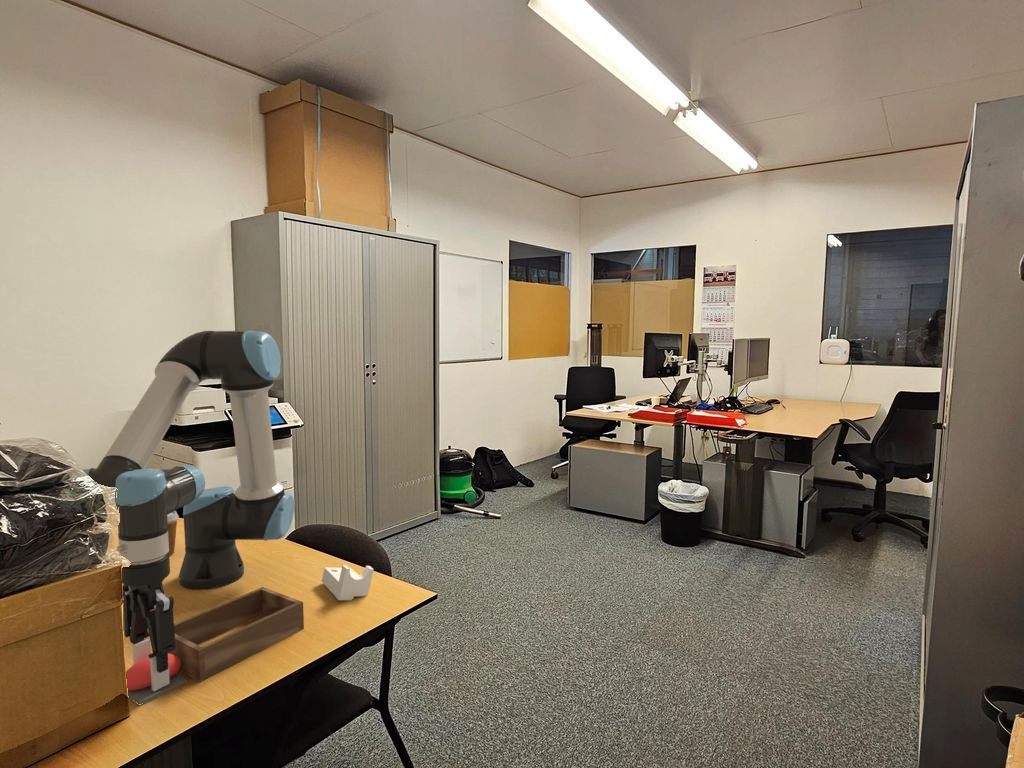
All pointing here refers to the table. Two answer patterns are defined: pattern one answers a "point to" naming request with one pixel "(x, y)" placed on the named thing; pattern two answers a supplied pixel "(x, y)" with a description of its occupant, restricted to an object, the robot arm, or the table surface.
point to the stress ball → (148, 672)
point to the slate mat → (149, 694)
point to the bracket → (347, 582)
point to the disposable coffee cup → (172, 530)
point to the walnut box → (241, 643)
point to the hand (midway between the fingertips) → (151, 681)
